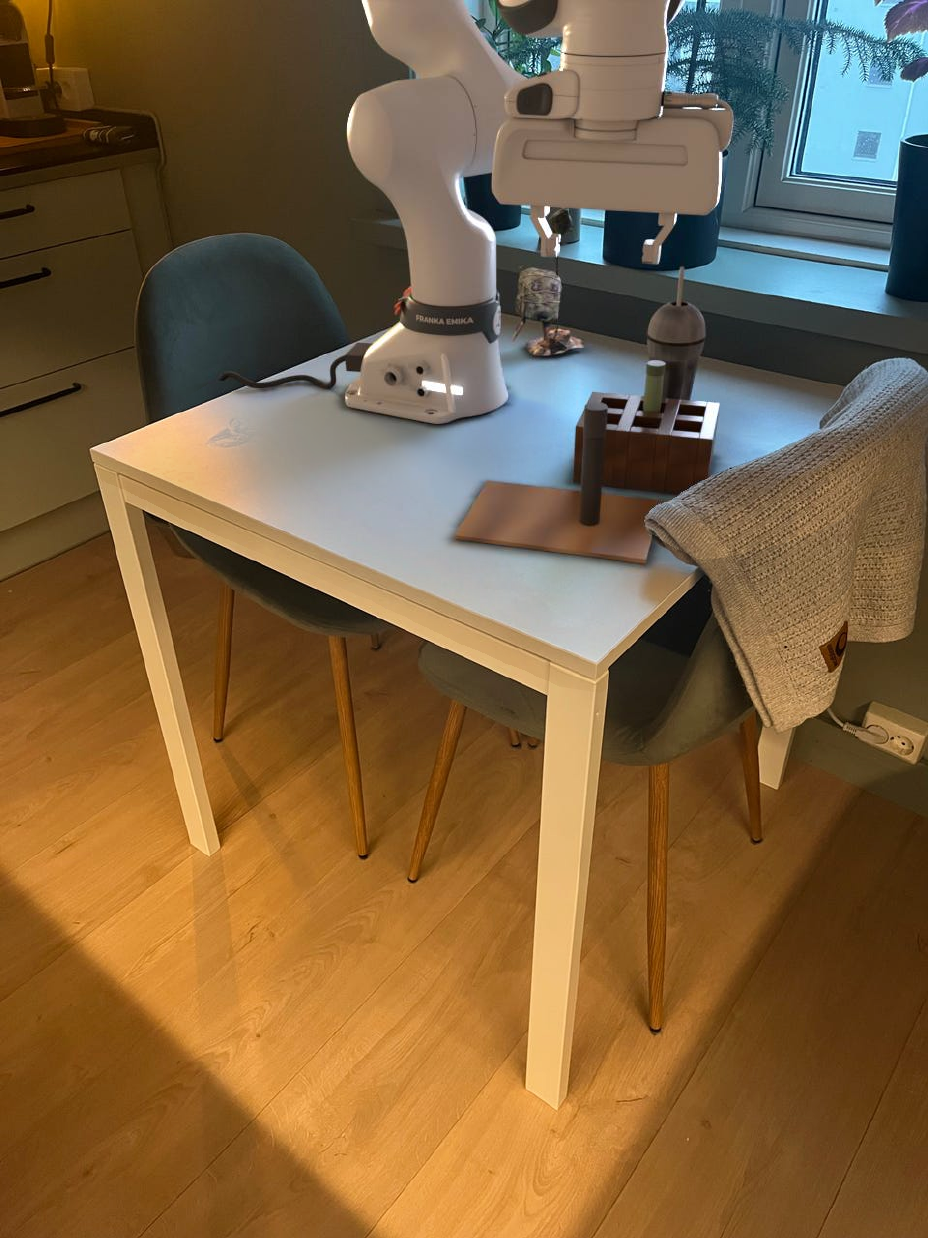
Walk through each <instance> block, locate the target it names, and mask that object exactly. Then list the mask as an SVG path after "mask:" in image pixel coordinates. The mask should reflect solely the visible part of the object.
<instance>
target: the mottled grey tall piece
mask: <svg viewBox="0 0 928 1238" xmlns="http://www.w3.org/2000/svg"><path fill="white" fill-rule="evenodd" d="M549 224H550V225H549V226H550V230H551V232H552V234H560V237H563V236H564V235H565V234H568V232H569V233H570V234H571V235H572V236H574V235H575V231H574V228H572V227H573V226H574V221H573V219H572V217H571V215H570V211H569V210H568V208H562V207H560V209H559V210H557V211H555V212H554V213H553V214H552V215H550V218H549ZM554 264H555V271H554V270H550V269H541V268H537V267H529V268H525V269H523V270H521V271H520V273H519V276H518V283H517V285H518V286H517V288H518V293H517V295H516V299H515V310H516V313H517V315H519V316H521V320H520V322H519V324H518V325H517V326H516V328H515V332H514V334H513V335H512V339H511V341H512V342H514V341H515V340H516V338H517V337H518V335H519V334H520V332H521V331H522V329H523V327H524V325H525V324H526V322H527V321H526V320H527V319H529V320H533V321H537V322H538V321H540V323H541V325H542V331H543V336H542V337H538V338H536V339H531V340H528V341H527V342H524V343H525V344H524V346H525V347H526V349H527V350H528V353H530V354H532V355H533V356H538V357H541V356H543V357H546V356H554V355H557V354H563V353H565V352H567V351H568V350H574V349H583V348H584V347H585V345H584V344H585V343H584V341H585V339H584V338H583V339H580V338H577V336H575V335H572V334H571V331H570V330H569V329H566V330H565V329H563V328H562V329H561V328H559V318H558V317H559V313H560V312H559V310H560V303H561V296H562V294H561V293H562V290H563V286H562V281H561V278H560V275H559V255H558V256H557V257H555V263H554ZM519 268H522V266H519ZM554 322H556V328H555V329H551V330H550V325H551V324H552V323H554Z"/></svg>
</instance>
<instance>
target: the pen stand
mask: <svg viewBox="0 0 928 1238" xmlns="http://www.w3.org/2000/svg"><path fill="white" fill-rule="evenodd" d="M591 402H600V403H604V404H606V405H607V406H608V412H607V427H606V435H605V449H604V464H603V479H602V487H610V488H611V487H612V488H620V489H628V490H637V491H645V492H655V493H665V494H673V495H680V493H681V492H683V491H685V490H687V489H689V488H690V487H691V486H693V485H695V484H697V483H698V482H700V481H702V480H705V479H707V478H708V477H709V478H710V474H711V468H712V462H713V458H714V451H715V442H716V436H717V428H718V422H719V414H720V407H721V403H720V402H713V401H704V400H703V401H701V400H691V399H690V400H680V399H668V398H662V400H661V409H660V413H656V412H645V411H643V403H644V395H633V394H625V393H624V394H622V393H610V392H602V391H601V392H599V391H592V392H591V394H590V396H589V398H588V400H587V403H591ZM587 403H586V404H587ZM583 425H584V409H583V410H582V413H581V414H580V417H579V419H578V421H577V423H576V425H575V430H574V431H575V434H574V436H575V437H574V451H573V452H574V455H573V474H572V476H573V477H572V483H575V484H581V473H582V454H583Z"/></svg>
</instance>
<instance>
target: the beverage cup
mask: <svg viewBox="0 0 928 1238" xmlns="http://www.w3.org/2000/svg"><path fill="white" fill-rule="evenodd" d="M684 276H685V266H679V273H678V284H677V293H676V294H677V295H676V300H674V301H670V302H667V303H665V304H663V305H662V306H661V307H660V308H658V309H657V310H656V311H655V312H654V314H653V315H652V316H651V318H650V321H649V324H648V327H647V331H646V334H645V338H646V345H647V353H648V361H651V360H660V361H663V362H665V364H666V365H665V374H664V380H663V390H662V398H668V399H680V400H691V399H692V393H693V389H694V384H695V379H696V375H697V369H698V366H699V365H698V364H699V360H700V356H701V355H702V352H703V349H704V345H705V341H706V340H707V335H706V334H707V332H706V323H705V318H704V316H703V314H702V313H701V311H700V310H699V309H698V308H697V307H696V306H695V305H693V304H692V303H690V302H688V301H684V300H683V299H682V297H683V288H684V287H683V285H684Z"/></svg>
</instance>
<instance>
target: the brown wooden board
mask: <svg viewBox="0 0 928 1238" xmlns="http://www.w3.org/2000/svg"><path fill="white" fill-rule="evenodd" d="M580 491H581V490H576V489H575V490H574V489H565V488H556V487H548V486H539V485H529V484H520V483H512V482H503V481H497V480H496V481H494V480H487V481H486V482H485V484H484V485H483V488H482V489H481V490H480V493H479V494H478V496H477V497H476V498H475V501H474V502H473V504H472V506H471V507H470V509H469V511H468V513H467V514H466V516H465V517H464V519H463V521H462V523H461V524H460V526H459V528H458V529H457V531H456V533H455V534H454V539H455V540H460V541H465V542H467V541H468V542H469V541H470V542H474V543H475V542H476V543H483V544H491V545H499V546H504V547H505V546H506V547H512V548H513V547H514V548H522V549H527V550H528V549H529V550H535V551H536V550H538V551H543V552H551V553H559V554H568V555H575V556H583V557H590V558H596V559H598V558H599V559H605V560H613V561H620V562H629V563H635V564H644V565H646V563H647V560H648V556H649V552H650V548H651V546H652V541H653V538H651V537H650V536H649V533H648V531H647V530H646V527H645V522H644V520H645V516H646V515H647V514H648V513H649V511H650V510H651V509H652V508H654V507H655V506H656V505H658V504H660V503H661V504H662V502H663V501H662V500H661V499H653V498H645V497H635V496H626V495H619V494H609V493H602V494H601V509H600V522H599V523H598V524H597V525H594V526H586V525H583V524H581V523H580V522H579V510H580Z"/></svg>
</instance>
